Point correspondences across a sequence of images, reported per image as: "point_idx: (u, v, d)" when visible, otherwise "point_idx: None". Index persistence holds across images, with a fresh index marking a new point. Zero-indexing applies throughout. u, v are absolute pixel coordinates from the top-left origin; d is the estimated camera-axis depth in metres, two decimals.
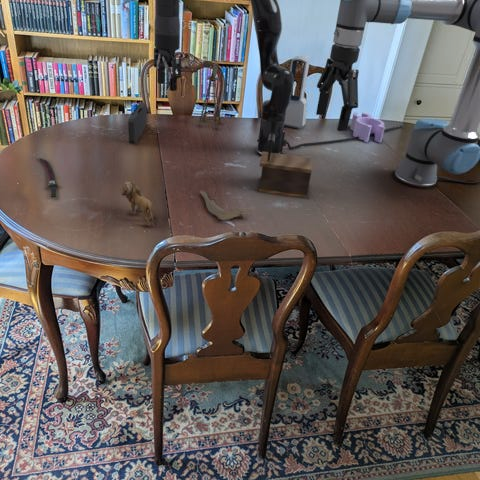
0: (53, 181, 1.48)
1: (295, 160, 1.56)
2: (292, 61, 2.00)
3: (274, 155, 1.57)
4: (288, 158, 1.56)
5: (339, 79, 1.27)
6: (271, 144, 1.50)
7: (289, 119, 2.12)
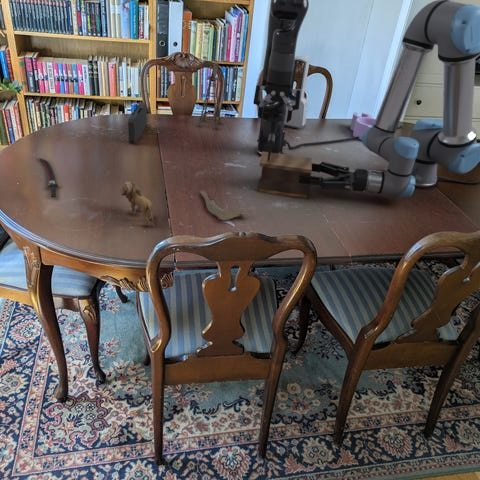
0: (53, 181, 1.48)
1: (295, 160, 1.56)
2: None
3: (274, 155, 1.57)
4: (288, 158, 1.56)
5: None
6: (271, 144, 1.50)
7: None
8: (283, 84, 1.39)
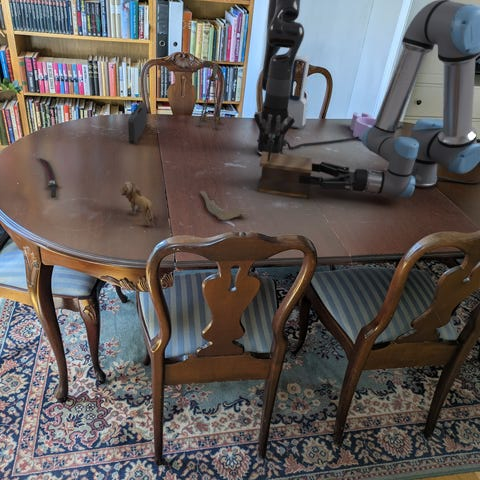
0: (53, 181, 1.48)
1: (295, 160, 1.56)
2: None
3: (274, 155, 1.57)
4: (288, 158, 1.56)
5: None
6: (271, 144, 1.50)
7: None
8: (280, 108, 1.43)
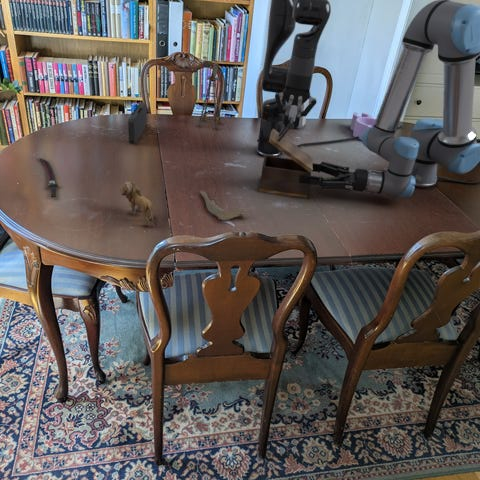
0: (53, 181, 1.48)
1: (299, 153, 1.54)
2: None
3: (283, 139, 1.54)
4: (294, 148, 1.54)
5: None
6: (290, 127, 1.46)
7: None
8: (302, 88, 1.39)
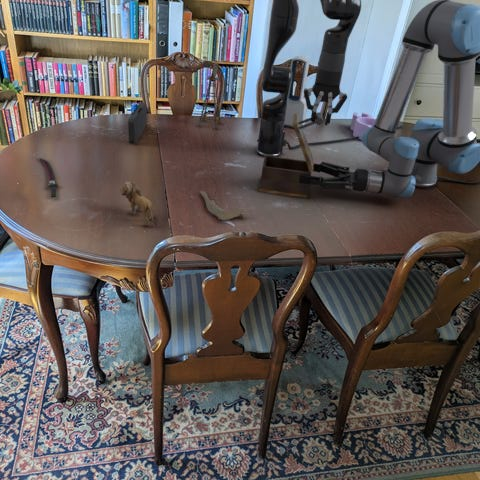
0: (53, 181, 1.48)
1: (308, 149, 1.53)
2: (292, 61, 2.00)
3: None
4: (306, 141, 1.53)
5: None
6: (317, 122, 1.44)
7: (289, 119, 2.12)
8: (332, 84, 1.37)
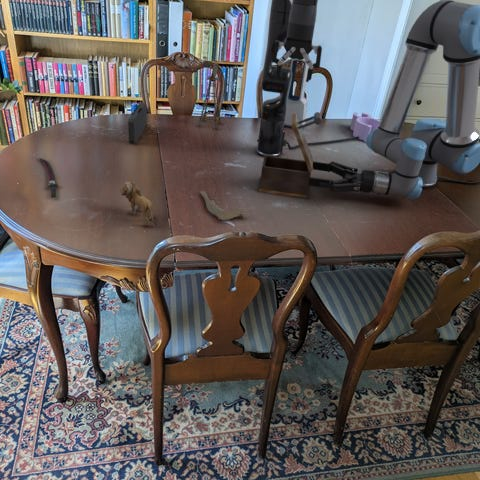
0: (53, 181, 1.48)
1: (307, 149, 1.53)
2: (292, 61, 2.00)
3: None
4: (305, 141, 1.53)
5: None
6: (316, 122, 1.44)
7: (289, 119, 2.12)
8: (304, 39, 1.32)
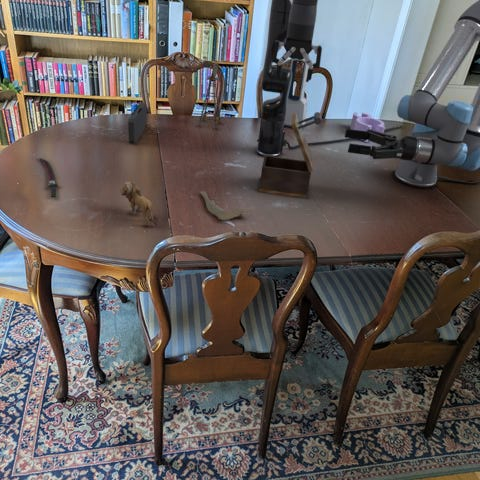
0: (53, 181, 1.48)
1: (307, 149, 1.53)
2: (292, 61, 2.00)
3: None
4: (305, 141, 1.53)
5: None
6: (316, 122, 1.44)
7: (289, 119, 2.12)
8: (304, 39, 1.32)
